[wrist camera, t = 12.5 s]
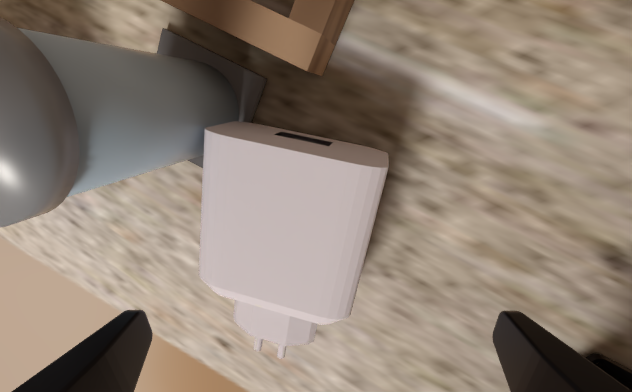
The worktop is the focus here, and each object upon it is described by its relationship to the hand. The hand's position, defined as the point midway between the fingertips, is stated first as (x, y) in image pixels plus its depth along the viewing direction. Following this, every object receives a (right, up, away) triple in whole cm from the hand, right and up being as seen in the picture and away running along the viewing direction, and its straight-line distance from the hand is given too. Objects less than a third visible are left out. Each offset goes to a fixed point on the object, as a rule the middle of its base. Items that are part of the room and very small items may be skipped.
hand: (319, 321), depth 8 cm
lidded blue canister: (-8, +9, +12) cm, 17 cm away
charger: (-2, 0, +14) cm, 14 cm away
